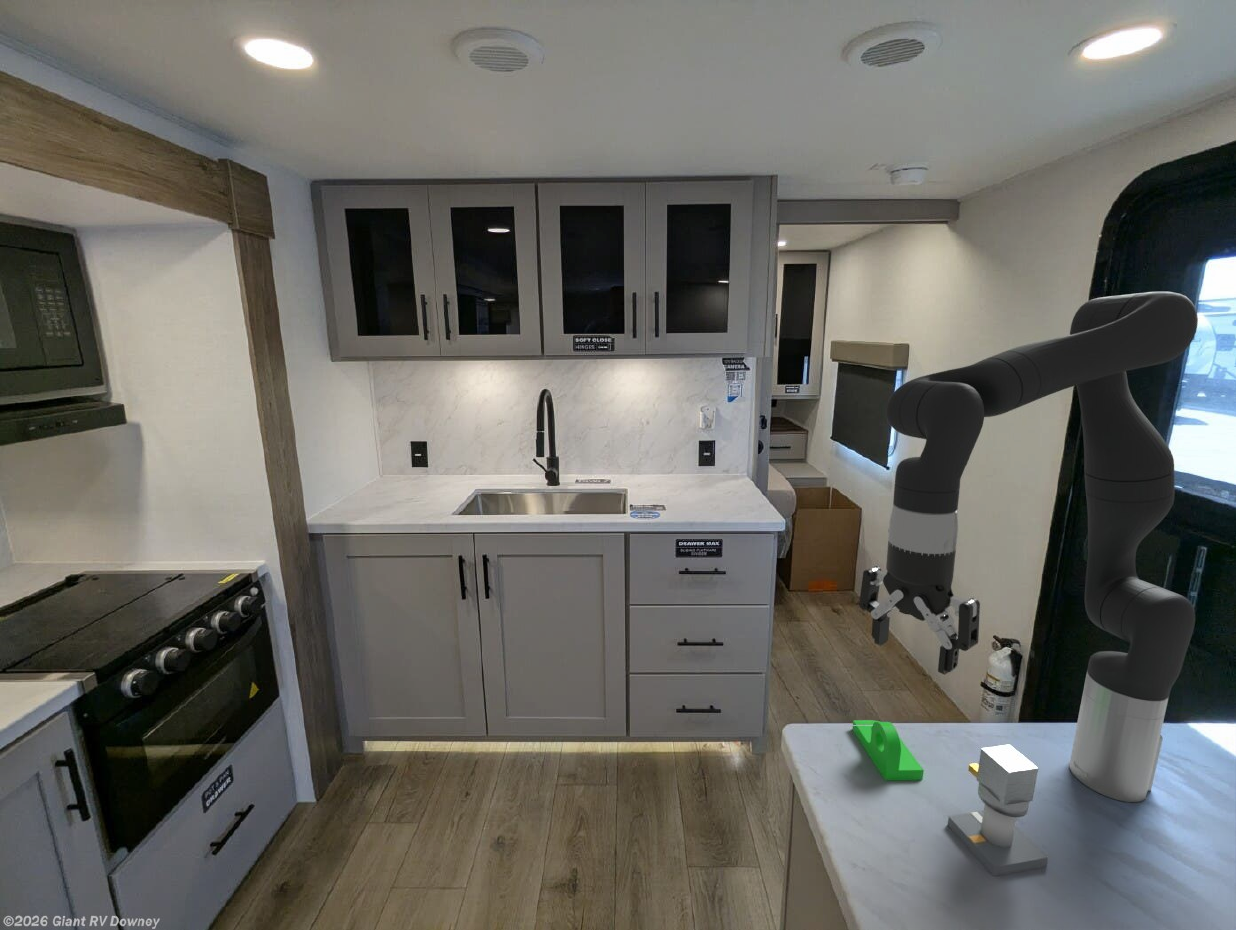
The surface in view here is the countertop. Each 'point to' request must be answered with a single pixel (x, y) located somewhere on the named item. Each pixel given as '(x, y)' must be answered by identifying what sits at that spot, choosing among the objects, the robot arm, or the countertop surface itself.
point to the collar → (1005, 780)
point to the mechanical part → (887, 750)
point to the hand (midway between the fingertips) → (911, 656)
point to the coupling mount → (997, 841)
